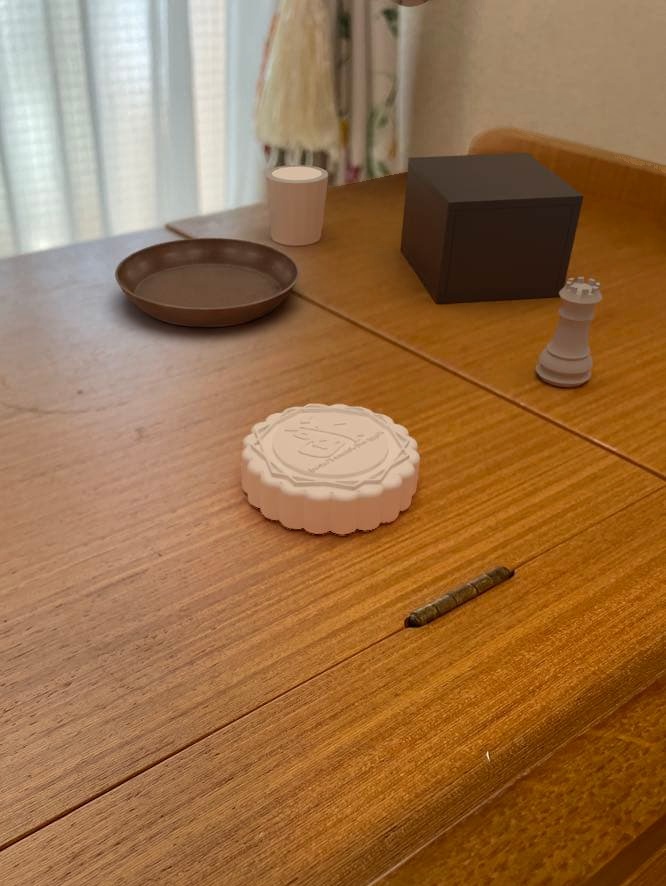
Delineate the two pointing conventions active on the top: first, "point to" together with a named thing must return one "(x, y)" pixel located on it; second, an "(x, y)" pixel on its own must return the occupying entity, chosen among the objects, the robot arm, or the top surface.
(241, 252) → the plant saucer
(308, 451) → the mooncake
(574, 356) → the rook chess piece
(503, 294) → the cabinet
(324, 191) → the pale pink cup
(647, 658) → the top surface
